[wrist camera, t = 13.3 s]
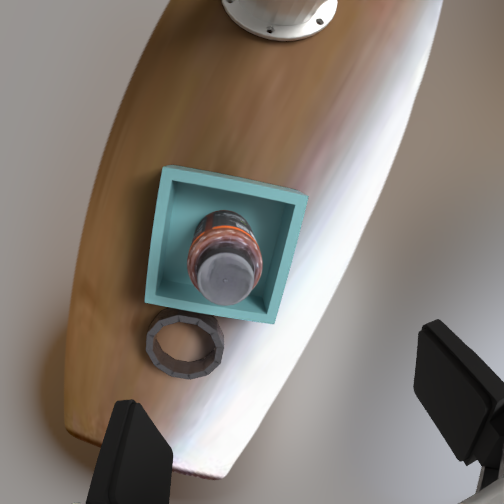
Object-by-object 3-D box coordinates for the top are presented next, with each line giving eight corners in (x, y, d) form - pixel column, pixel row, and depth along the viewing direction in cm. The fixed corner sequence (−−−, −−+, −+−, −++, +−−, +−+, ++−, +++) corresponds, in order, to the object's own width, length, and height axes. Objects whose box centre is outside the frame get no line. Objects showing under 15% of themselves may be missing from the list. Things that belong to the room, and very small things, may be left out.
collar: (153, 299, 35) (148, 309, 33) (228, 312, 36) (229, 323, 34) (148, 359, 37) (144, 371, 35) (216, 371, 39) (216, 383, 36)
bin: (171, 164, 31) (162, 166, 26) (296, 189, 33) (308, 196, 28) (154, 282, 34) (144, 302, 30) (267, 302, 36) (274, 324, 31)
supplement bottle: (195, 265, 33) (183, 318, 22) (193, 208, 31) (178, 238, 21) (252, 265, 34) (266, 318, 23) (254, 208, 32) (269, 238, 21)
